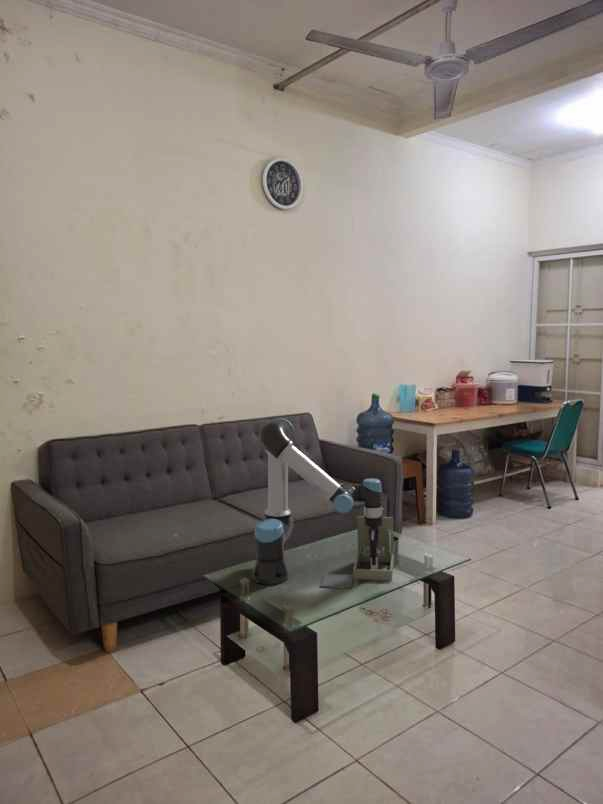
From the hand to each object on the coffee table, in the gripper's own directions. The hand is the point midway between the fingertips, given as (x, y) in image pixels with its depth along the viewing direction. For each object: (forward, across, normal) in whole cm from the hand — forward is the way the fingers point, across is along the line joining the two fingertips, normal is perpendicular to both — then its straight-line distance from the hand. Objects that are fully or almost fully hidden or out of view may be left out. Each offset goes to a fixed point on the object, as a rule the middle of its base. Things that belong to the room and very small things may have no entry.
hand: (374, 569), depth 249 cm
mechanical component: (0, 0, 0) cm, 1 cm away
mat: (0, -14, +14) cm, 20 cm away
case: (0, 0, 0) cm, 0 cm away
